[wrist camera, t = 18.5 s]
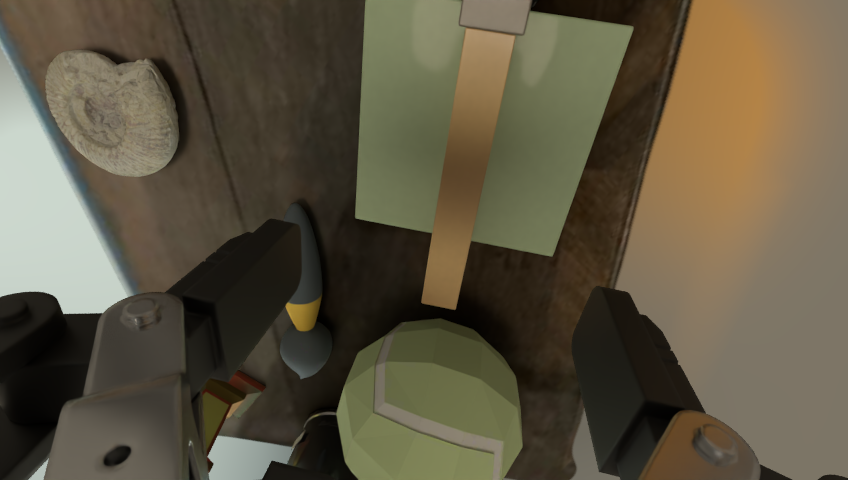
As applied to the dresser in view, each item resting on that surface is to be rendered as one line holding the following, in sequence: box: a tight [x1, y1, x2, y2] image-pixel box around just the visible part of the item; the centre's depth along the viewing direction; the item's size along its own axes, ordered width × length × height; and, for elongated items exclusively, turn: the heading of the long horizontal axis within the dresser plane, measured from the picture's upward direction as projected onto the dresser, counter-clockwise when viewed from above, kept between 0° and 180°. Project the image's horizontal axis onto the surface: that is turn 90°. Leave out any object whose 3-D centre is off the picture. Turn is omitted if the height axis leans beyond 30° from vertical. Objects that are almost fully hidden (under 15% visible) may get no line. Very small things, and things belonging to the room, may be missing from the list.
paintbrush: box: [280, 203, 333, 379], centre depth 37 cm, size 20×5×5 cm, turn 2°
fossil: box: [45, 50, 179, 177], centre depth 31 cm, size 11×4×10 cm
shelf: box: [355, 0, 633, 256], centre depth 24 cm, size 12×12×9 cm
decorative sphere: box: [336, 318, 523, 480], centre depth 34 cm, size 15×15×15 cm
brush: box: [421, 0, 532, 310], centre depth 19 cm, size 20×3×3 cm, turn 173°
